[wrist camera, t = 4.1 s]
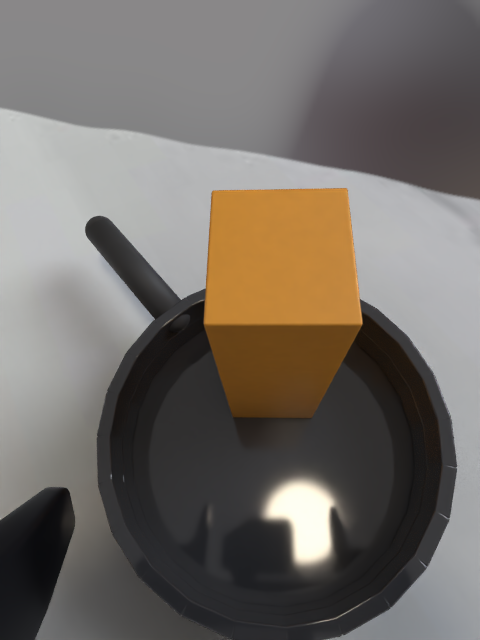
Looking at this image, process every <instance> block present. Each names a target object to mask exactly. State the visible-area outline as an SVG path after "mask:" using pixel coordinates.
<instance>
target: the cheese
mask: <svg viewBox="0 0 480 640" xmlns="http://www.w3.org/2000/svg"><path fill="white" fill-rule="evenodd" d="M362 324H363V323H362V314H361V305H360V296H359V287H358V278H357V270H356V261H355V252H354V243H353V234H352V225H351V216H350V207H349V198H348V190H347V189H346V188H333V189H276V190H219V191H212V196H211V212H210V228H209V244H208V260H207V276H206V292H205V308H204V327H205V330H206V333H207V336H208V340H209V343H210V346H211V349H212V352H213V356H214V359H215V362H216V365H217V369H218V372H219V375H220V378H221V381H222V385H223V388H224V391H225V394H226V397H227V401H228V404H229V407H230V410H231V413H232V416H233V417H259V418H312V417H313V415H314V413H315V411H316V409H317V407H318V406H319V404H320V402H321V400H322V398H323V396H324V395H325V393H326V391H327V389H328V387H329V385H330V383H331V382H332V380H333V378H334V376H335V374H336V372H337V371H338V369H339V367H340V365H341V363H342V361H343V359H344V358H345V356H346V354H347V352H348V350H349V348H350V347H351V345H352V343H353V341H354V339H355V337H356V335H357V334H358V332H359V330H360V328H361V326H362Z"/></svg>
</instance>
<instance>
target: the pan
mask: <svg viewBox="0 0 480 640" xmlns="http://www.w3.org/2000/svg"><path fill="white" fill-rule="evenodd" d="M205 292H206V289H203V290H201V291H199V292H196V293H194V294H192V295H189V296H187V298H184V299H182V300H181V301H180V302H178V303H177V304H176V305H174V306H173V307H172V308H171V309H170V310H168V311H166V312H165V313H163V314H162V315H161V316H159V317H158V318H157V319H155V320H154V321H153V322H152V323H151V324H150V325H149V326H148V328H147V329H146V330H145V331H144V332H143V333H142V335H141V336H140V337H139V338H138V339H137V341H136V342H135V343H134V344H133V345H132V346H131V348H130V349H129V350H128V351H127V353H126V354H125V356H124V358H123V360H122V362H121V364H120V366H119V368H118V370H117V372H116V374H115V376H114V378H113V380H112V382H111V384H110V386H109V388H108V390H107V391H108V392H107V393H106V398H105V402H104V407H103V411H102V415H101V420H100V424H99V429H98V433H97V436H98V437H97V466H98V484H99V485H98V487H99V491H100V494H101V497H102V501H103V504H104V508H105V511H106V515H107V518H108V522H109V525H110V528H111V532H112V533H113V536H114V538H115V539H116V541H117V543H118V544H119V546H120V548H121V549H122V551H123V552H124V554H125V556H126V557H127V559H128V561H129V562H130V564H131V565H132V567H133V569H134V570H135V572H136V574H137V575H138V577H139V578H140V579H141V580H142V581H143V582H144V583H145V584H146V585H147V586H148V587H149V588H150V589H151V590H153V591H154V592H155V593H156V594H157V595H158V596H159V597H160V598H161V599H163V600H164V601H165V602H166V603H167V604H168V605H169V606H170V607H171V608H172V609H174V610H175V611H176V612H177V613H178V614H179V615H182V617H184V618H186V619H188V620H190V621H192V622H195V623H197V624H199V625H201V626H203V627H205V628H207V629H210V630H212V631H214V632H216V633H218V634H220V635H222V636H224V637H227V638H229V639H233V640H325V639H330V638H335V637H340V636H342V635H346V634H347V633H349V632H351V631H353V630H354V629H356V628H358V627H359V626H361V625H363V624H365V623H366V622H368V621H370V620H372V619H373V618H375V617H377V616H379V615H380V614H382V613H384V612H385V611H387V610H389V609H390V607H393V605H394V604H395V603H396V602H397V601H398V600H399V599H400V598H401V597H402V595H403V594H404V593H405V592H406V591H407V590H408V589H409V588H410V587H411V585H412V584H413V583H414V582H415V581H416V580H417V579H418V578H419V577H420V575H421V574H422V573H423V572H424V571H425V570H426V568H427V567H426V566H428V565H429V563H430V561H431V559H432V557H433V555H434V552H435V550H436V548H437V546H438V544H439V541H440V539H441V537H442V535H443V533H444V531H445V528H446V526H447V524H448V522H449V518H450V513H451V507H452V500H453V493H454V486H455V480H456V473H457V468H456V467H457V462H456V453H455V445H454V437H453V428H452V420H451V419H450V418H451V416H450V414H449V411H448V408H447V406H446V403H445V401H444V398H443V396H442V393H441V390H440V388H439V385H438V383H437V380H436V377H435V375H433V374H434V373H433V371H432V370H431V369H430V367H429V366H428V364H427V363H426V361H425V360H424V358H423V357H422V356H421V354H420V353H419V351H418V350H417V348H416V347H415V346H414V344H413V343H412V341H411V340H410V338H409V337H408V336H407V335H406V334H405V333H404V332H403V331H401V330H400V329H399V328H398V327H397V326H396V325H395V324H394V323H392V322H391V321H390V320H389V319H388V318H387V317H386V316H385V315H384V314H382V313H381V312H380V311H379V310H378V309H377V308H376V309H375V307H373V306H371V305H370V304H368V303H366V302H364V301H362V300H361V299H360V305H361V314H362V323H363V324H362V326H361V328H360V330H359V332H358V334H357V335H356V337H355V339H354V341H353V343H352V345H351V347H350V348H349V350H348V352H347V354H346V356H345V358H344V359H343V361H342V363H341V365H340V367H339V369H338V371H337V372H336V374H335V376H334V378H333V380H332V382H331V383H330V385H329V387H328V389H327V391H326V393H325V395H324V396H323V398H322V400H321V402H320V404H319V406H318V407H317V409H316V411H315V413H314V415H313V417H312V418H259V417H233V416H232V413H231V410H230V407H229V404H228V401H227V397H226V394H225V391H224V388H223V385H222V381H221V378H220V375H219V372H218V369H217V365H216V362H215V359H214V356H213V352H212V349H211V346H210V343H209V340H208V336H207V333H206V330H205V327H204V308H205ZM185 314H188V315H190V321H189V324H188V325H187V327H186V328H185V329H184V330H182V331H180V332H176V333H173V332H170V326H171V325H172V323H173V322H174V321H175V320H176V319H177V318H179V317H180V316H182V315H185Z"/></svg>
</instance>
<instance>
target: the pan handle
mask: <svg viewBox="0 0 480 640" xmlns="http://www.w3.org/2000/svg"><path fill="white" fill-rule="evenodd" d="M85 232H86V236H87V237H88V239H89V240H90V241H91V243H92V244H93V245H94V246H95V247H96V249H97V250H98V251H99V252H100V253H101V255H102V256H103V257H104V258H105V260H106V261H107V262H108V263H109V264H110V266H111V267H112V268H113V269H114V270H115V272H116V273H117V274H118V275H119V276H120V278H121V279H122V280H123V281H124V282H125V284H126V285H127V286H128V287H129V288H130V290H131V291H132V292H133V293H134V294H135V296H136V297H137V298H138V299H139V300H140V302H141V303H142V304H143V305H144V306H145V308H146V309H147V310H148V311H149V312H150V314H151V315H152V316H153V317H154V319H157V318H158V317H159V316H161V315H162V314H163V313H165V312H166V311H168V310H170V309H171V308H172V307H173V306H174V305H176V304H177V303H178V302H180V301H181V300H180V298H179V297H178V296H177V295H176V294H175V293H174V292H173V291H172V289H171V288H170V287H169V286H168V285H167V284H166V283H165V282H164V280H163V279H162V278H161V277H160V276H159V275H158V274H157V272H156V271H155V270H154V269H153V268H152V267H151V266H150V265H149V263H148V262H147V261H146V260H145V259H144V258H143V257H142V255H141V254H140V253H139V252H138V251H137V250H136V249H135V248H134V246H133V245H132V244H131V243H130V242H129V241H128V240H127V238H126V237H125V236H124V235H123V234H122V233H121V232H120V231H119V229H118V228H117V227H116V226H115V225H114V224H113V223H112V221H110V220H109V219H108V218H106V217H103V216H96V217H93V218H91V219H90V220H89V221H88V222H87V224H86V227H85ZM189 321H190V315H188V314H185V315H182V316H180V317H179V318H177V319H176V320H175V321H174V322H173V323H172V325H171V326H170V332H173V333H176V332H180V331H182V330H184V329H185V328H186V327H187V325H188V324H189Z"/></svg>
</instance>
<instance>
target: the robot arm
mask: <svg viewBox="0 0 480 640" xmlns="http://www.w3.org/2000/svg"><path fill="white" fill-rule="evenodd" d="M74 527H75V516H74V511H73V506H72V501H71V496H70V492H69V490H68V489H67V488H65V487H48V488H45V489H44V490H42V491H41V492H39V493H38V494H37V495H35V496H34V497H32V498H31V499H30V500H28V501H27V502H25V503H24V504H23V505H21V506H20V507H18V508H17V509H16V510H14V511H13V512H11V513H10V514H9V515H7V516H6V517H4V518H3V519H2V520H0V640H35V638H36V635H37V633H38V631H39V628H40V626H41V624H42V621H43V619H44V616H45V614H46V612H47V609H48V606H49V603H50V601H51V598H52V595H53V592H54V589H55V586H56V583H57V580H58V577H59V574H60V571H61V568H62V565H63V561H64V558H65V555H66V552H67V549H68V546H69V543H70V540H71V537H72V534H73V531H74Z"/></svg>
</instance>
